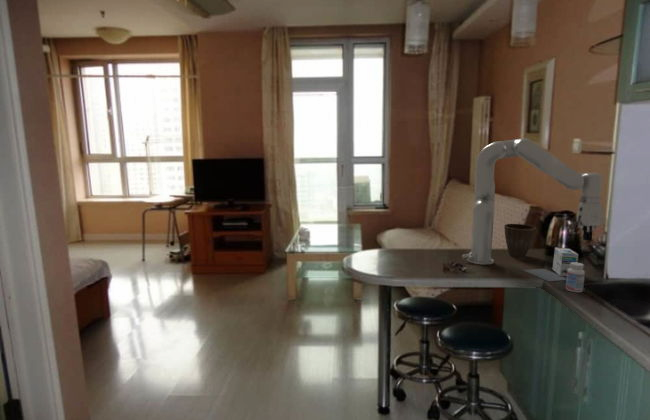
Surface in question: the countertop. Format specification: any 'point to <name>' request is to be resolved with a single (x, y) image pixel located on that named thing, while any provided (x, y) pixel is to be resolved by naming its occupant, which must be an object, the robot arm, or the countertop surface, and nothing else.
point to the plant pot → (518, 239)
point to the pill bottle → (575, 277)
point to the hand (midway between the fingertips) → (587, 240)
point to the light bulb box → (563, 260)
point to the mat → (546, 275)
